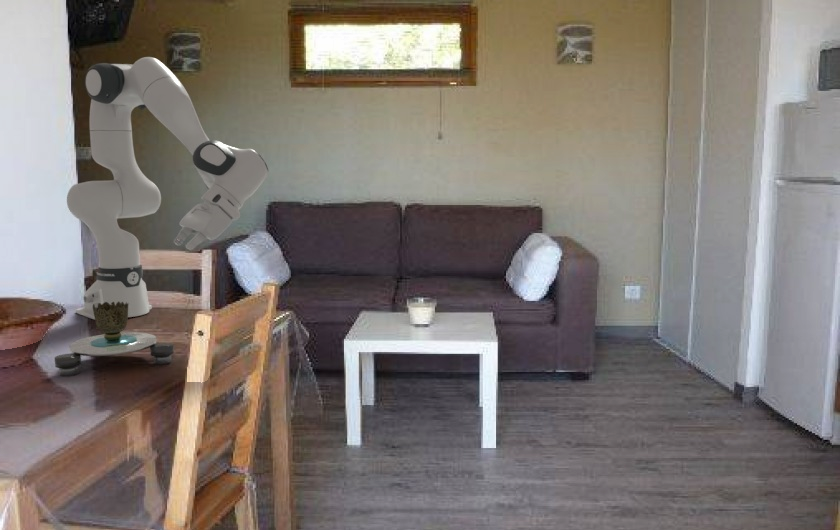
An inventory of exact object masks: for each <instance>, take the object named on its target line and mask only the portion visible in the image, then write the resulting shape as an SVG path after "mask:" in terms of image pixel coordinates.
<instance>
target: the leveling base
mask: <svg viewBox="0 0 840 530" xmlns="http://www.w3.org/2000/svg"><path fill="white" fill-rule="evenodd" d="M104 334H105V333H102V334H98V335H92V336H88V337H83V338H81V339H78V340H76V341H73V342H72V343H71V344H70V345H69V351H70V352H71V353H63V354H60V355H59V354H58V355H57V356H54V365H55V368H57V369H58V373H59V376H60V377H72V376H73V377H74V376H76V375H78V374H79V366H80V365H81V364H82V356H83V357H84V356H86V357H109V356H119V355H126V354H131V353H135V352H140V351H144V350H146V349H149V351H150V352H149V353H150V356H152V357H153V359H154V362H153V363H154V365H161V366H162V365H167V364H171V363H172V355H174V354H175V344H174V343H171V342H161V343H157V341H158V340H157V339H158V338H157V336H156V335H154V334H151V333H146V332H136V331H135V332H132V331H131V332H129V331H128V332H127V331H122V332H121V334H122V336H121V338H120V339H117V340H106V339H105V338H104Z"/></svg>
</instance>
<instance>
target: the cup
mask: <svg viewBox="0 0 840 530" xmlns="http://www.w3.org/2000/svg"><path fill="white" fill-rule="evenodd" d="M128 304H129V303H128ZM128 304H127V302H126V304H124V303H123V302H122V303H120V302H117V304H116V306H115V303H114V302H112V303H111V304H109V303H107V302H104V303H103V304H102V305H101V304H100V303H98V308H95V306H94V305H93V312H94V317H95V320H94V321H95V325H96V327H97V329H98V330H99V332H100V333H102V334H104V338H105V339H106V340H117V339H120V338H121V336H122V334H121V333H122V332H124V330H125V329H126V327H127V324H128V318H129V317H128Z"/></svg>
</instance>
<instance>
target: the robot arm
mask: <svg viewBox="0 0 840 530" xmlns="http://www.w3.org/2000/svg"><path fill="white" fill-rule="evenodd" d="M84 76H85V77H84V86H85V87H84V88H85V90H86V93H87V94H88V96H89V97H90V99H91V100H90V106H89V107H90V108H89V139H90V154H91V157H92V159H93V160H94V162H95V163H96V164H98V165H100V166H102V167H103V168H106V169H108V170H109V171H110V172H111V173H112V176H113V179H112V180H111V179H110V180H90V181H89V180H88V181H85V182H79V183H76V184H73V185H72V186H71V187H70V189H69V190H68V192H67V195H66V204H67V208H68V211H69V212H70V213H71V214H72V215H73V217H75V218H76V219H78V220H79V221H81V222H82V223H84V224H85V225H86V227H88V229H89V230H90V232H91V233H92V235H93V237H94V240H95V242H96V247H97V254H98V264H99V265H98V268H95V269H94V271H95V272H94V273H95V274H96V278H95V279H96V281H94V283H93V284H91V286H90V287H89V288H88V289H87V290H86V291H85V292H84V294H83V306H82V307H79V308H76V309H75V313H76V314H79V315H81V316H83V317H86V318H89V319H92V320H94V321H95V317H94V312H93V305H94V306H95V308H98V303H100V304H101V305H102V304H103V303H104V302H107V303H109V304H111V303H112V302H114V303H115V306H116V304H117V302H120V303H122V302H123V303H124V304H126V302H127V304H128V303H129V304H128V318H132V317H133V318H134V317H139V316H144V315H146V314H148V313H150V310H152V309H153V306H152V304H150V303H149V297H148V290H147V284H146V282H145V281H144V279H143V277H144V275H143V272H144V271H143V266H142V264H141V255H140V242H139V239H138V238H137V237H136V236H135V235H134V234H133V233H132V232H129V231H127V230H125V229H122V228H120V226H119V223H118V219H130V218H141V217H145V216H150V215H153V214H155V213H156V212H157V211H158V210H159V208H160V206H161V202H162V195H161V191H160V189H159V188H158V186H157V185H156V184H155V183H154V182H153V181H152V180H150V179H149V178H148V177H147V176H146V175H145V174H144V173H143V172H142V170H141V169H140V167H139V165H138V162H137V160H136V156H135V150H134V149H135V148H134V142H133V141H134V140H133V128H132V116H131V115H132V112H133V110H134V109H135V108H136V107H137V108H138V110H141V111H142V110H145V109H146V108H147V110H148V111H149V112H150V113H151V114H152V115H153V116H154V117H155V119H156V120H158V122H160V123H161V124H162V126H164V127H165V128H166V129H167V130H168V131H169V132H171V134H172V135H174V136H175V137H176V138H177V140H178V141H180V142H181V143H182V145H183V146H184V147H185V148H186V149H187V151H188V152H189V154H190V155H191V156H192V162H193V165H194V167H195V169H196V171H197V172H198V174H199V177H201V179H202V181H203V182H204V184H205V186H206V189H207V191H206V192H204V193H203V195H202V196H201V197H200V198H201V201H202V203H198V204H195V205H194V206H193V207H192V208H191V209H190V210H189V211H188V212H186V214H185V215H183V217H182V219H181V220H180V221H179V224H178V225H179V226H180V227H181V229H179V232H178V234H177V236H176V237H175V238H174V239H173V243H174V244H175V245H176V246H178V247H179V246H180V247H181V246H182V245H183V244H185V245H184V247H185V248H186V249H187V250H189V251H193V250H194V249H195V248H196V247H198V246H199V245H200V244H202V243H204V241H205V240H209V241H214V240H215V239H217V238H218V237H220V235H222V233H224V232H225V230H227V228H229V227H230V226H231V224H232V223H233V222H235V221H238V220H239V218H240V217H241V215H242V214H241V213H240V210H241V209H242V207H243V206H244V204H245V202H246V200H248V199H249V198H250V197H252V196H253V195H254V194H255V192H256V191H257V190H258V189H259V188H260V187H261V185H262V184H263V183H264V181H265V180H266V179H267V177H268V175H269V166H268V165H267V162H266V161H265V160H264V158H263V157H262V155H260V154H259V152H257V151H256V150H254V149H253V148H237V147H234V146H231V145H228V144H225V143H223V142H221V141H219V140H217V139H216V140H215V139H212V140H210V139H209V137H208V136H207V134H206V132H205V131H204V128H203V127H202V123H201V122H200V119H199V116H198V114H197V112H196V109H195V107H194V104H193V102H192V100H191V96H190V95H189V93H188V92H187V90H186V87H184V85H183V83H182V82H181V81H180V79H179V78H178V77H177V76H176V74H174V73H173V71H171V69H170V68H169V67H168V66H166V65H165V64H164V63H163V62H161V60H159V59H158V58H155V57H152V56H145V57H141V58H139V59H137V60H136V61H134V63H133V64H130V63H123V64H122V63H107V62H102V63H95V64H93V65H91V66H90V67H89V68H88V69H87V71H86V73H85V75H84ZM191 234H192V235H194V236H193V238H192V239H190V240H188V241H187V242H186V243H184V242H185V240H186V239H187V238H188V237H189V236H190V235H191Z"/></svg>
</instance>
